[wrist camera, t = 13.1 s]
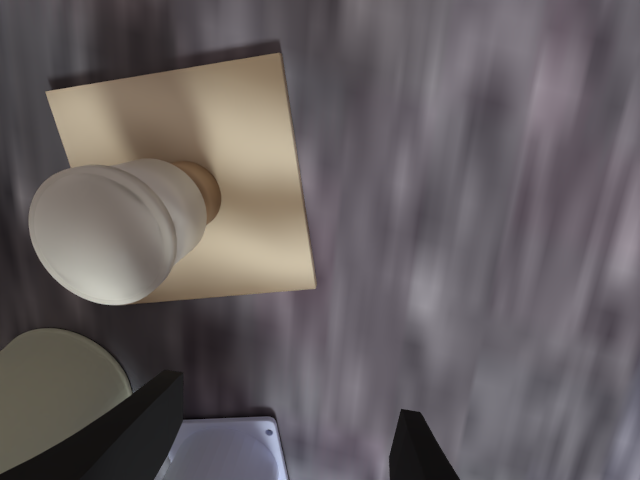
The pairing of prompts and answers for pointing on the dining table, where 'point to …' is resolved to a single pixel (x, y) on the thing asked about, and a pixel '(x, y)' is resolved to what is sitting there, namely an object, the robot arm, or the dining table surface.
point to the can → (53, 391)
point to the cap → (116, 227)
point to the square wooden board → (208, 166)
